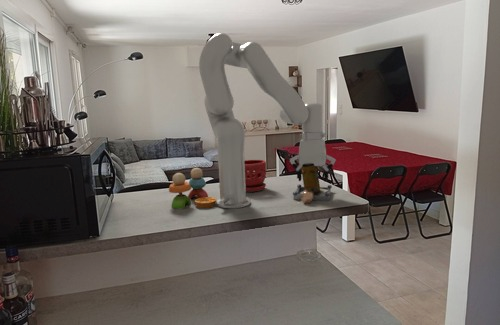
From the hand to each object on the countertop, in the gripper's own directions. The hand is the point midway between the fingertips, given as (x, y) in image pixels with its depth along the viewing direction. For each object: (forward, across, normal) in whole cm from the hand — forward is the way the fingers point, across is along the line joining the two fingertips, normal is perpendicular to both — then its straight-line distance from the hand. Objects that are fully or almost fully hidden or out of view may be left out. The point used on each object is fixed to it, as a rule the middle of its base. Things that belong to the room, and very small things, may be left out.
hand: (312, 180), depth 148 cm
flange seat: (+6, 0, +2) cm, 6 cm away
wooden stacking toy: (+6, +42, +14) cm, 45 cm away
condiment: (+5, 0, 0) cm, 5 cm away
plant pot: (+6, +26, -7) cm, 28 cm away
